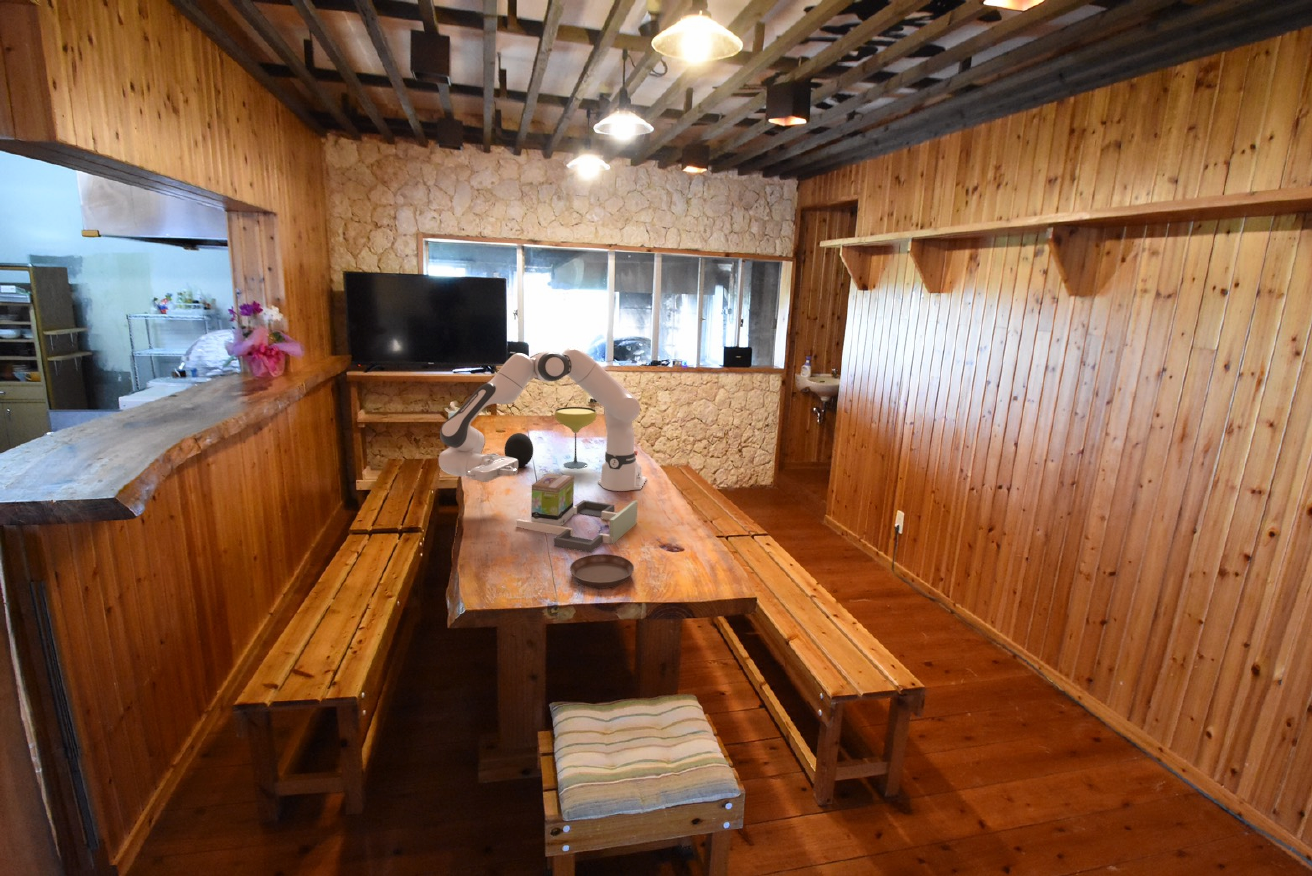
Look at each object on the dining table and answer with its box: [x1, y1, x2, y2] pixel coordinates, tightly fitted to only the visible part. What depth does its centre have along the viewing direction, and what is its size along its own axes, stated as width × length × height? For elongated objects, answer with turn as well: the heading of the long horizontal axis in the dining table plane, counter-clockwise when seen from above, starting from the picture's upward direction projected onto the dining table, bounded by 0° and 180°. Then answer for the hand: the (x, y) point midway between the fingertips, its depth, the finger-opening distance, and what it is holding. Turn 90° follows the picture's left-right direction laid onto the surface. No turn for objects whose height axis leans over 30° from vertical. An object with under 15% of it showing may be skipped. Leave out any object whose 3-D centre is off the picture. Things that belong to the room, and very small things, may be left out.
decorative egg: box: [504, 432, 534, 468], centre depth 279 cm, size 12×12×15 cm
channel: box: [515, 500, 638, 545], centre depth 213 cm, size 20×35×8 cm, turn 70°
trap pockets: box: [553, 499, 616, 553], centre depth 212 cm, size 36×20×2 cm, turn 160°
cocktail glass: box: [554, 406, 597, 469], centre depth 283 cm, size 18×18×25 cm
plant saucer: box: [569, 553, 635, 589], centre depth 176 cm, size 18×18×3 cm
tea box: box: [530, 473, 575, 527], centre depth 215 cm, size 15×10×15 cm
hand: (515, 472), depth 218 cm, fingers closed
